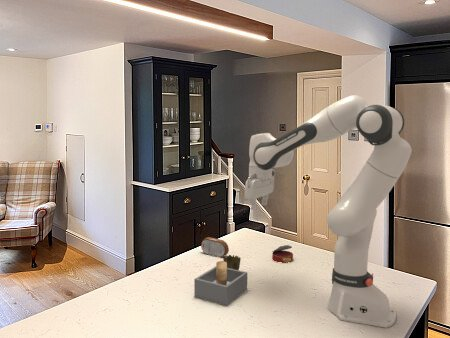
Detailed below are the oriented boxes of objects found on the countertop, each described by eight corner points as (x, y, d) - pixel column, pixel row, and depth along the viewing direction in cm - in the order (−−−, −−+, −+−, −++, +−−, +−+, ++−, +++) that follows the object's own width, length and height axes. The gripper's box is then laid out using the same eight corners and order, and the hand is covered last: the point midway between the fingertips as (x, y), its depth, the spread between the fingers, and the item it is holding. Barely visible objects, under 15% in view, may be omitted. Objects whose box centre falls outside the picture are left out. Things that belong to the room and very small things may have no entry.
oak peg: (228, 292, 150) (228, 262, 149) (223, 296, 147) (223, 265, 146) (219, 290, 152) (219, 260, 151) (214, 293, 149) (214, 263, 148)
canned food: (274, 271, 184) (265, 253, 184) (278, 262, 193) (269, 244, 193) (296, 263, 180) (286, 244, 179) (299, 254, 189) (289, 236, 189)
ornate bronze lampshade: (233, 280, 162) (233, 262, 161) (219, 276, 166) (219, 258, 165) (243, 275, 167) (244, 257, 167) (230, 271, 172) (230, 253, 171)
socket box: (247, 289, 153) (247, 272, 152) (226, 305, 139) (226, 287, 138) (216, 282, 160) (216, 265, 159) (194, 296, 146) (194, 279, 145)
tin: (229, 257, 190) (229, 240, 189) (225, 259, 187) (225, 242, 186) (203, 251, 197) (203, 235, 196) (200, 253, 195) (200, 237, 194)
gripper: (255, 176, 146) (255, 213, 147) (277, 171, 163) (276, 203, 165) (240, 175, 149) (240, 211, 151) (263, 170, 166) (262, 201, 168)
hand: (259, 207), depth 158 cm, fingers open, 8 cm apart
